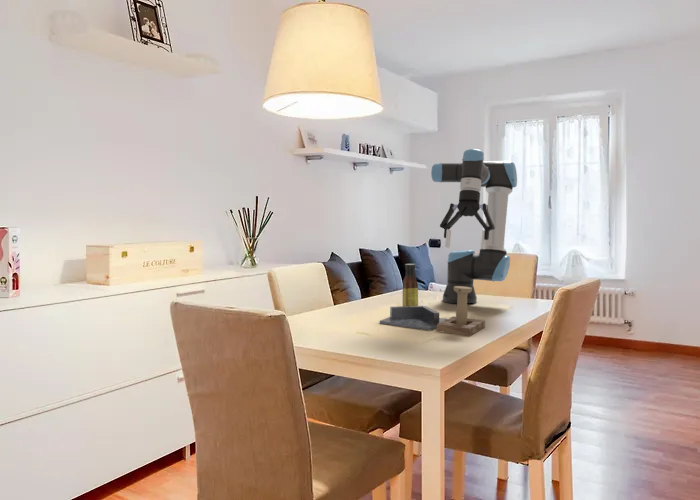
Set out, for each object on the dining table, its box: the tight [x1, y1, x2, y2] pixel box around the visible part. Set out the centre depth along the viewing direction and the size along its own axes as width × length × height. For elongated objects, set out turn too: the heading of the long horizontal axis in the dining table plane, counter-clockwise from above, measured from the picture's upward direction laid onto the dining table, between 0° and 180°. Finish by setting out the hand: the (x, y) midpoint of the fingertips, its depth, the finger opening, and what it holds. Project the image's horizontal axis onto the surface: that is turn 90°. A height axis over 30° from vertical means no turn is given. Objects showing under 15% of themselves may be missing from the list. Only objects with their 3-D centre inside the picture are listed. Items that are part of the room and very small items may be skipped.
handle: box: [454, 286, 472, 325], centre depth 202 cm, size 5×6×15 cm
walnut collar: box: [436, 316, 486, 337], centre depth 203 cm, size 16×12×2 cm
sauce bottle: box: [402, 263, 419, 306], centre depth 229 cm, size 6×6×20 cm
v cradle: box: [379, 305, 448, 331], centre depth 212 cm, size 18×20×5 cm
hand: (464, 248), depth 210 cm, fingers open, 13 cm apart
